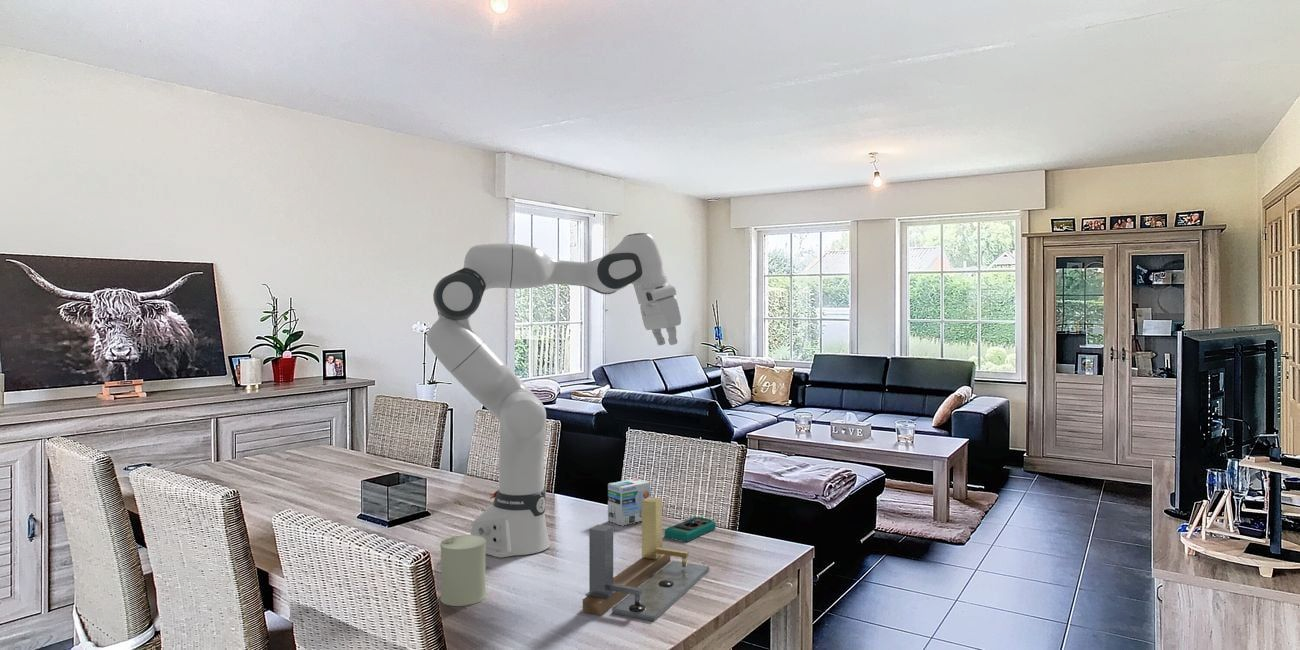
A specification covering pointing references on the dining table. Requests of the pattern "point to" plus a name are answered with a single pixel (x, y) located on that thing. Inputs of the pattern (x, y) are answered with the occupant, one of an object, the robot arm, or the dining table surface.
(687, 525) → the digital multimeter
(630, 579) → the rail
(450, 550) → the can
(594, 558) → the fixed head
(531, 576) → the dining table surface
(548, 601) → the dining table surface
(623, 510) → the light bulb box
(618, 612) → the hole plate
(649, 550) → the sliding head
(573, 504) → the dining table surface
